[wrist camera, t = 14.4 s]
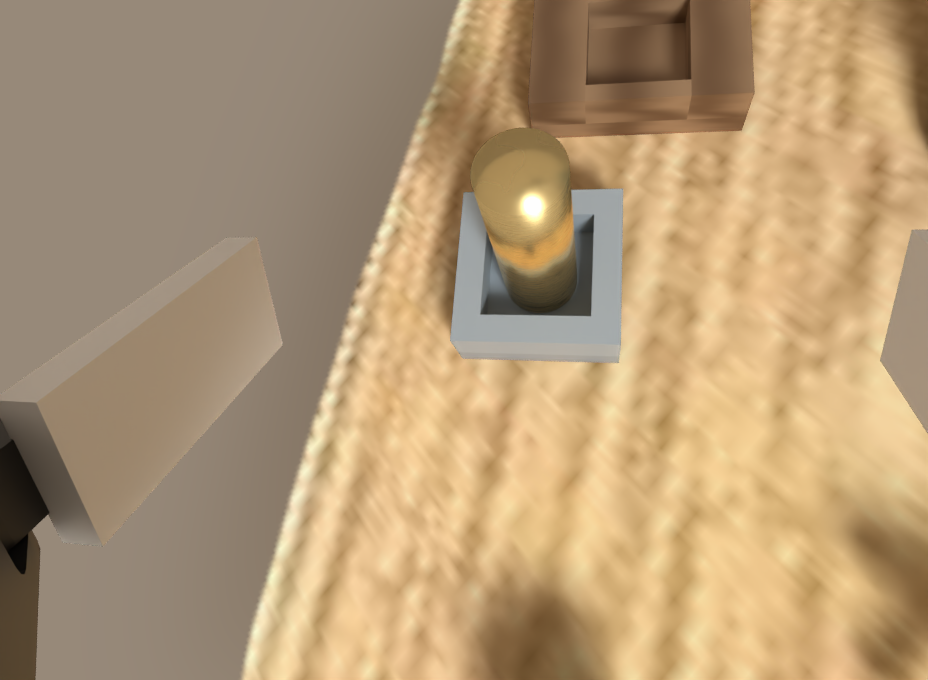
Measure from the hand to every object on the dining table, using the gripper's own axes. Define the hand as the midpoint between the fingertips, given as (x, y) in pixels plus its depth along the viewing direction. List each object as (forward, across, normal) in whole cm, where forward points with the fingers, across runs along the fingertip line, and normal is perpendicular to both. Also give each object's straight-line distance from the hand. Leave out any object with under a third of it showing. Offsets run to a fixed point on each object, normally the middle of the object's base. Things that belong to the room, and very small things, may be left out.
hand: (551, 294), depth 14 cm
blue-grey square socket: (+28, +3, +12) cm, 31 cm away
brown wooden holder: (+39, -2, +1) cm, 39 cm away
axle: (+27, +3, +11) cm, 29 cm away
